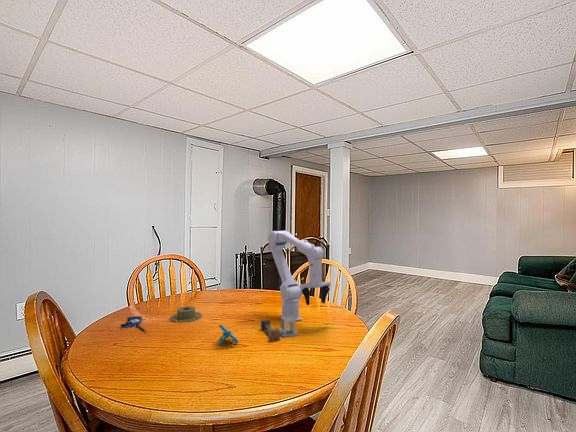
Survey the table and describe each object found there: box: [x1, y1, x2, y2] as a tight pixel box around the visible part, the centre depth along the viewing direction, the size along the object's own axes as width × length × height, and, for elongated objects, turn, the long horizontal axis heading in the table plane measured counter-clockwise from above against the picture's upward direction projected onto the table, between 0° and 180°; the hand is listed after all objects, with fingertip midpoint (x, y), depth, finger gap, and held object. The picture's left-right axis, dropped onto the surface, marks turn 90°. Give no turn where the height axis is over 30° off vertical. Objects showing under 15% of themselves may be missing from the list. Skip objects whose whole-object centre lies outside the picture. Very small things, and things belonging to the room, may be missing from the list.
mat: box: [279, 328, 299, 339], centre depth 129 cm, size 7×7×1 cm
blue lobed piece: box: [218, 323, 239, 346], centre depth 119 cm, size 11×6×10 cm
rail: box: [259, 318, 281, 342], centre depth 128 cm, size 14×4×4 cm, turn 21°
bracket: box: [280, 316, 296, 335], centre depth 129 cm, size 4×5×6 cm
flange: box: [169, 305, 203, 323], centre depth 149 cm, size 5×15×15 cm
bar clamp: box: [120, 315, 147, 332], centre depth 132 cm, size 32×2×10 cm
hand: (315, 303), depth 137 cm, fingers open, 7 cm apart
